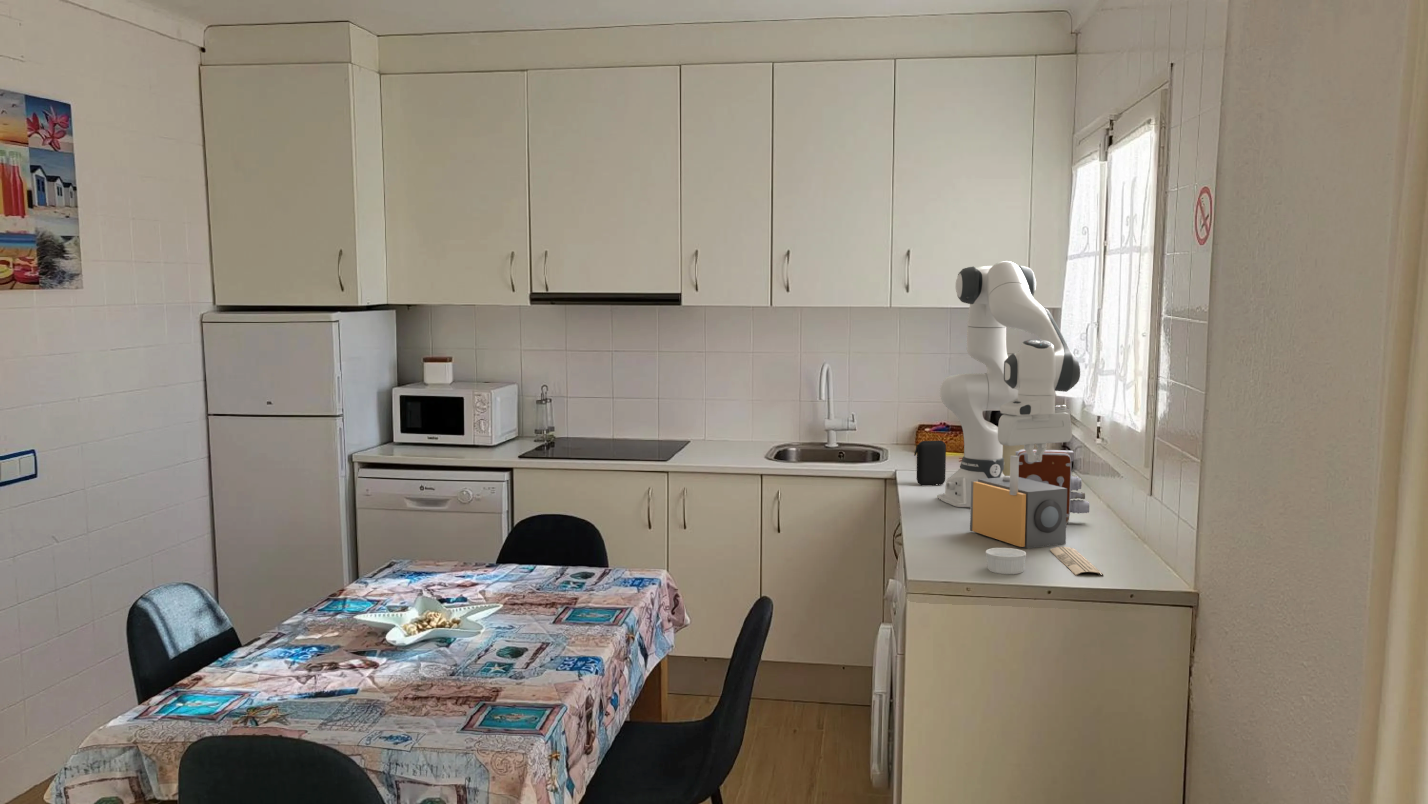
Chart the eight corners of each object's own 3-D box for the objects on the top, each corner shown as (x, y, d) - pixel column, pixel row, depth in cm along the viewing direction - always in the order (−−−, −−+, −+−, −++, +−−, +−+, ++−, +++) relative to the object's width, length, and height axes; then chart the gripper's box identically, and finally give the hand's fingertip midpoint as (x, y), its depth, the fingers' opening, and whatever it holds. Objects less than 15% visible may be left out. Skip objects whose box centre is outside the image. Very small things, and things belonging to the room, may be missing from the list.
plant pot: (976, 483, 354) (977, 435, 352) (1002, 478, 364) (1003, 431, 362) (1015, 489, 343) (1016, 440, 341) (1041, 483, 352) (1042, 435, 351)
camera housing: (976, 531, 281) (978, 475, 280) (1014, 527, 286) (1015, 472, 284) (1029, 549, 262) (1031, 488, 260) (1068, 544, 266) (1070, 485, 265)
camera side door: (966, 530, 281) (967, 447, 278) (973, 529, 281) (975, 446, 279) (1017, 547, 262) (1019, 458, 259) (1024, 546, 262) (1026, 457, 260)
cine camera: (1090, 527, 286) (1093, 453, 284) (1015, 524, 290) (1017, 451, 288) (1086, 520, 295) (1088, 448, 293) (1013, 517, 299) (1014, 446, 297)
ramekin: (982, 573, 240) (983, 554, 239) (987, 564, 248) (988, 545, 247) (1023, 577, 236) (1024, 557, 236) (1027, 567, 245) (1027, 548, 244)
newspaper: (1103, 579, 237) (1103, 571, 236) (1070, 579, 237) (1070, 571, 237) (1074, 553, 260) (1075, 546, 260) (1045, 553, 260) (1045, 546, 260)
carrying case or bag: (915, 486, 348) (916, 441, 347) (912, 485, 351) (912, 440, 350) (946, 485, 350) (947, 441, 348) (943, 484, 353) (944, 439, 351)
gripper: (1061, 403, 270) (1059, 457, 271) (994, 406, 262) (993, 462, 264) (1078, 405, 264) (1077, 461, 266) (1010, 408, 257) (1009, 466, 258)
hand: (1034, 461), depth 265 cm, fingers closed
